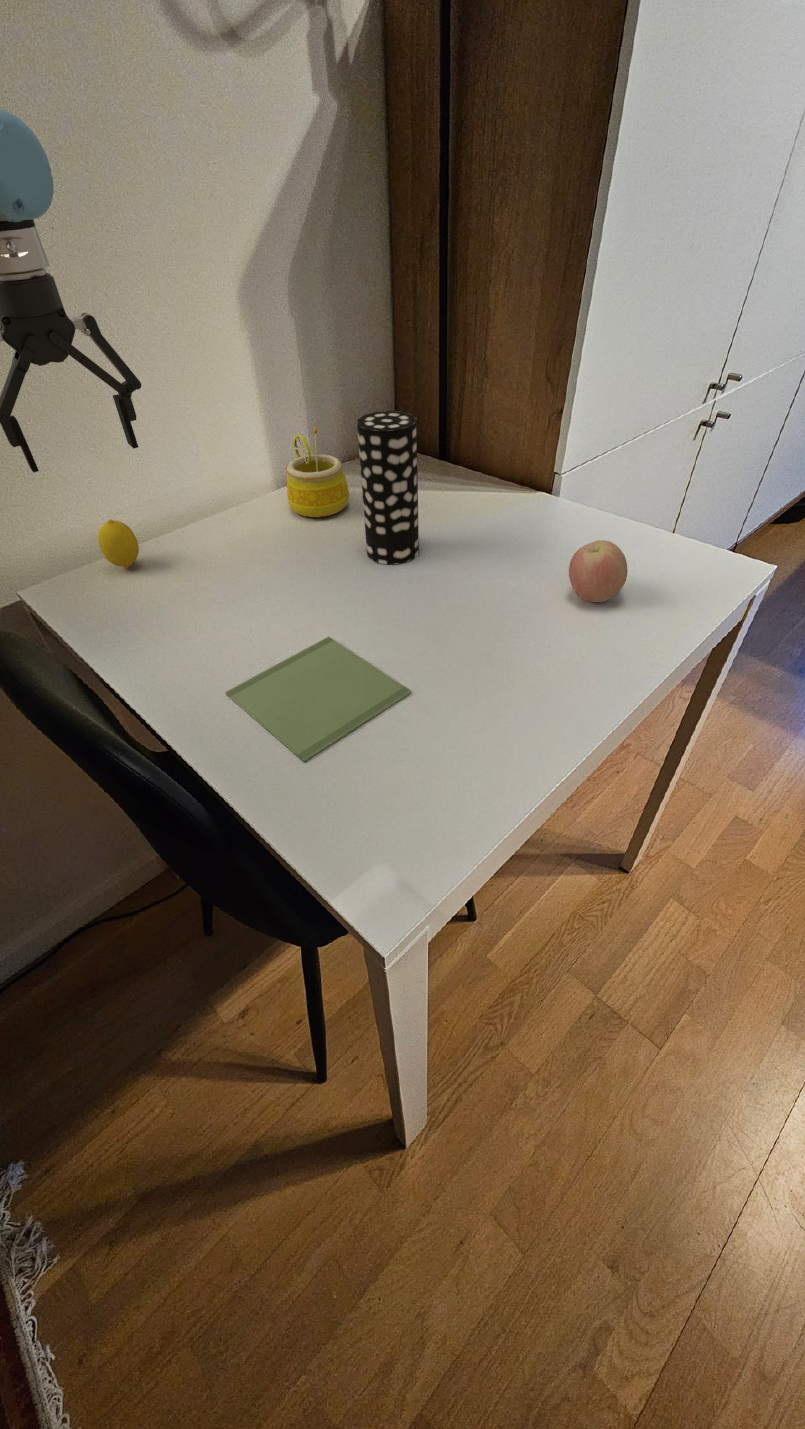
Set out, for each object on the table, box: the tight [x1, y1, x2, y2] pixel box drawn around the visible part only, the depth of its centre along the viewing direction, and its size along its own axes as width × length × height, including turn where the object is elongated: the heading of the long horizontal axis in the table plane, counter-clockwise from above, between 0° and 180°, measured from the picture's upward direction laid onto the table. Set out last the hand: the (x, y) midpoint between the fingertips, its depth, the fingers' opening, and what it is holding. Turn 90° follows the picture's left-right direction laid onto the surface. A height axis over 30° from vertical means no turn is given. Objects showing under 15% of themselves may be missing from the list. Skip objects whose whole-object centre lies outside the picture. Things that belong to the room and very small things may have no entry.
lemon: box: [97, 519, 140, 569], centre depth 97 cm, size 6×6×8 cm
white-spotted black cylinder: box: [356, 410, 420, 565], centre depth 94 cm, size 8×8×20 cm
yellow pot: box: [285, 427, 350, 518], centre depth 110 cm, size 13×11×12 cm
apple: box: [568, 539, 629, 603], centre depth 87 cm, size 8×8×8 cm
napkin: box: [224, 636, 412, 763], centre depth 76 cm, size 16×16×1 cm
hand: (85, 457), depth 88 cm, fingers open, 13 cm apart
